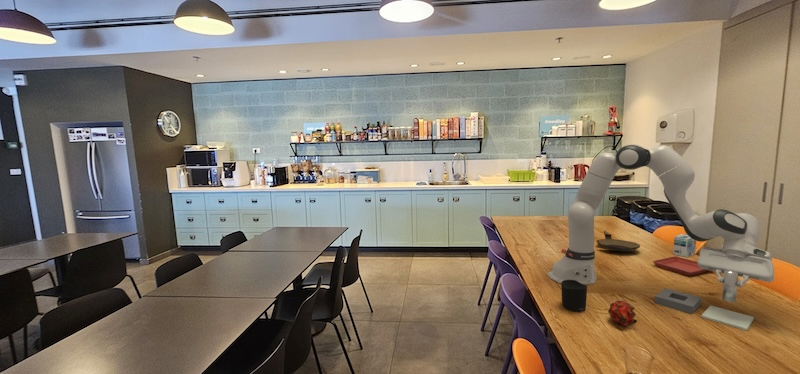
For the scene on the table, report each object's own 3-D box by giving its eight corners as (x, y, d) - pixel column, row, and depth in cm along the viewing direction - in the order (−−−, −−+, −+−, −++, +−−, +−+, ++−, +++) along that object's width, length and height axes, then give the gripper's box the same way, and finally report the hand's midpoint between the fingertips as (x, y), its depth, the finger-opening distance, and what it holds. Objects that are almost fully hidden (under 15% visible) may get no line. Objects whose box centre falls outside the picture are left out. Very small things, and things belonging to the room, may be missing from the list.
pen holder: (562, 311, 134) (562, 287, 132) (560, 300, 142) (560, 278, 141) (588, 314, 130) (589, 290, 129) (584, 303, 139) (585, 280, 138)
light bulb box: (686, 257, 185) (688, 239, 184) (672, 254, 191) (673, 236, 190) (695, 254, 190) (697, 235, 189) (681, 251, 196) (682, 233, 195)
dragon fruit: (623, 318, 129) (624, 338, 119) (602, 303, 131) (602, 321, 122) (639, 305, 125) (642, 325, 115) (618, 290, 127) (619, 308, 117)
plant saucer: (651, 266, 176) (651, 260, 175) (674, 261, 181) (675, 255, 181) (690, 278, 159) (690, 272, 158) (714, 272, 164) (715, 266, 164)
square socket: (692, 314, 127) (692, 306, 127) (654, 303, 137) (655, 296, 136) (701, 304, 134) (701, 297, 133) (664, 294, 144) (665, 287, 143)
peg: (729, 302, 120) (732, 273, 119) (719, 298, 124) (721, 270, 122) (738, 301, 121) (741, 272, 119) (728, 297, 124) (730, 269, 123)
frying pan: (595, 253, 198) (596, 241, 197) (596, 240, 224) (597, 229, 223) (641, 259, 187) (642, 245, 186) (637, 244, 212) (637, 233, 211)
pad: (747, 330, 115) (747, 328, 115) (701, 317, 124) (701, 315, 124) (753, 319, 122) (753, 317, 121) (710, 307, 131) (710, 305, 131)
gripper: (700, 242, 132) (691, 271, 128) (777, 254, 116) (770, 288, 111) (702, 250, 135) (694, 279, 131) (778, 263, 119) (771, 297, 114)
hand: (729, 283), depth 121 cm, fingers closed on peg, 4 cm apart
